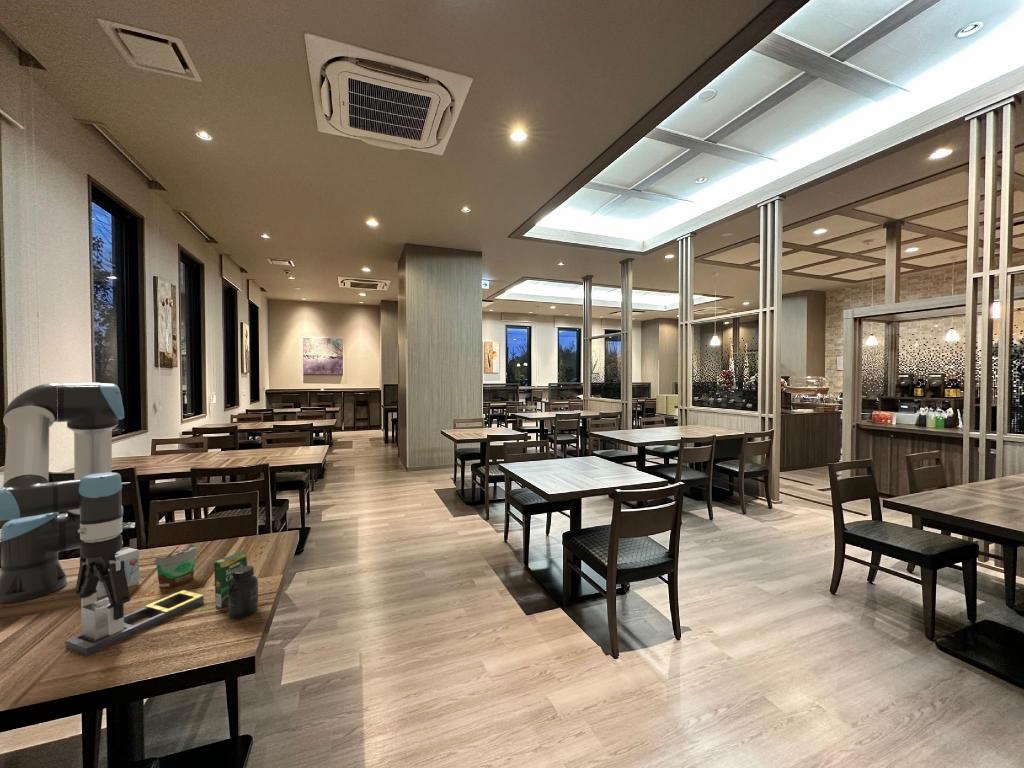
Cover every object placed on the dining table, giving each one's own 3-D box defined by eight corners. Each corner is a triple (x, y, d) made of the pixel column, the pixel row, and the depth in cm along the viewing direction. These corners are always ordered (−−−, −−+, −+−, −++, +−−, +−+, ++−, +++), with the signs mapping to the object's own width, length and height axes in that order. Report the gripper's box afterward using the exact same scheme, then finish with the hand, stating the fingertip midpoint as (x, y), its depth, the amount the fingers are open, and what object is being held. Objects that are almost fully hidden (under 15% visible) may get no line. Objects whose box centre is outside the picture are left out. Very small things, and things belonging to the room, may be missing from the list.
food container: (171, 593, 129) (170, 559, 129) (154, 591, 130) (154, 558, 130) (207, 575, 141) (207, 544, 141) (192, 573, 143) (191, 543, 143)
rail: (65, 647, 102) (65, 639, 102) (183, 597, 126) (183, 590, 126) (86, 656, 99) (86, 647, 99) (203, 602, 123) (203, 595, 123)
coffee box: (220, 610, 119) (220, 562, 119) (214, 608, 120) (213, 561, 120) (248, 596, 126) (248, 552, 126) (242, 594, 127) (241, 550, 127)
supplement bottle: (254, 604, 122) (253, 561, 122) (261, 612, 117) (261, 568, 117) (225, 613, 117) (225, 569, 117) (232, 623, 112) (232, 577, 112)
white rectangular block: (81, 644, 104) (81, 606, 104) (110, 632, 109) (109, 596, 109) (94, 649, 102) (94, 610, 102) (122, 636, 107) (122, 599, 107)
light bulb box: (99, 598, 126) (98, 562, 126) (84, 595, 128) (84, 559, 129) (140, 582, 136) (140, 548, 136) (126, 579, 139) (126, 546, 139)
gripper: (55, 536, 106) (56, 626, 106) (110, 548, 98) (111, 645, 98) (93, 527, 113) (94, 610, 113) (148, 537, 105) (149, 628, 104)
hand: (102, 627), depth 105 cm, fingers open, 11 cm apart
